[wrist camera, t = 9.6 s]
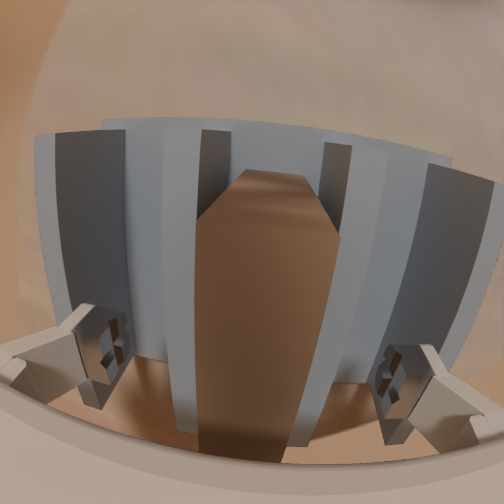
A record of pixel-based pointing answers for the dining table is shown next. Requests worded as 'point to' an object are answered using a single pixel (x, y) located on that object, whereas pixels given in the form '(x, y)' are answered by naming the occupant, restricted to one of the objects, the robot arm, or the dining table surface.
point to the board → (258, 310)
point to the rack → (204, 195)
